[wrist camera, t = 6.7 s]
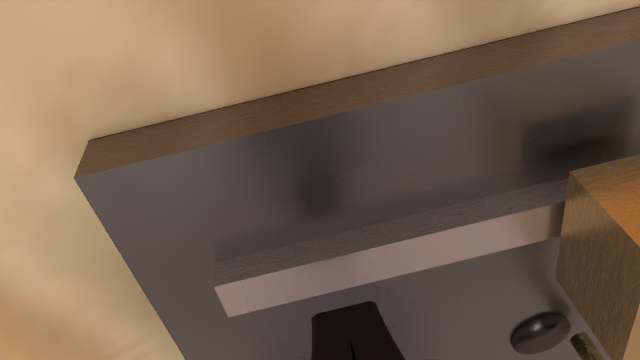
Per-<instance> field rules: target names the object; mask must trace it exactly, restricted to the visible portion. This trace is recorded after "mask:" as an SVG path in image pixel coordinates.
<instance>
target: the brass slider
mask: <svg viewBox="0 0 640 360" xmlns="http://www.w3.org/2000/svg"><path fill="white" fill-rule="evenodd" d="M555 278H556V280H557V281H558V283H559V284H560V286H561V287H562V288H563V290H564V291H565V293H566V294H567V296H568V297H569V299H570V300H571V302H572V303H573V304H574V306H575V307H576V309H577V310H578V312H579V313H580V315H581V316H582V318H583V319H584V320H585V322H586V323H587V325H588V326H589V328H590V329H591V331H592V332H593V333H594V335H595V336H596V338H597V339H598V341H599V342H600V344H601V345H602V347H603V348H604V349H605V351H606V352H607V354H608V355H609V357H610V358H611V360H640V154H639V155H635V156H631V157H626V158H622V159H618V160H614V161H610V162H606V163H602V164H598V165H594V166H590V167H585V168H581V169H577V170H573V171H570V172H569V180H568V187H567V194H566V201H565V209H564V216H563V223H562V231H561V238H560V245H559V252H558V260H557V267H556V274H555ZM570 343H571V344H572V346H573V348H574V349H575V351H576V352H577V354H578V355H579V357H580V359H581V360H605V359H604V358H603V356H602V355H601V353H600V352H599V350H598V349H597V347H596V346H595V344H594V343H593V341H592V340H591V338H590V337H589V335H588V334H587V333H585V332H581V333H577V334H575V335H574V336H572V337H571V339H570Z"/></svg>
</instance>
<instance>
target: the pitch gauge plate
mask: <svg viewBox="0 0 640 360" xmlns="http://www.w3.org/2000/svg"><path fill="white" fill-rule="evenodd" d="M639 154H640V7H637V8H633V9H629V10H625V11H621V12H617V13H613V14H608V15H604V16H600V17H596V18H592V19H588V20H584V21H580V22H576V23H571V24H567V25H563V26H559V27H555V28H551V29H547V30H543V31H539V32H534V33H530V34H526V35H522V36H518V37H514V38H510V39H506V40H502V41H497V42H493V43H489V44H485V45H481V46H477V47H473V48H469V49H465V50H460V51H456V52H452V53H448V54H444V55H440V56H436V57H432V58H428V59H423V60H419V61H415V62H411V63H407V64H403V65H399V66H395V67H391V68H386V69H382V70H378V71H374V72H370V73H366V74H362V75H358V76H354V77H349V78H345V79H341V80H337V81H333V82H329V83H325V84H321V85H317V86H312V87H308V88H304V89H300V90H296V91H292V92H288V93H284V94H280V95H275V96H271V97H267V98H263V99H259V100H255V101H251V102H247V103H243V104H238V105H234V106H230V107H226V108H222V109H218V110H214V111H210V112H206V113H201V114H197V115H193V116H189V117H185V118H181V119H177V120H173V121H169V122H164V123H160V124H156V125H152V126H148V127H144V128H140V129H136V130H132V131H127V132H123V133H119V134H115V135H111V136H107V137H103V138H99V139H95V140H90V141H88V144H87V146H86V149H85V151H84V154H83V156H82V159H81V161H80V164H79V166H78V169H77V171H76V174H75V176H74V179H75V181H76V182H77V184H78V186H79V187H80V189H81V191H82V192H83V194H84V195H85V197H86V199H87V200H88V202H89V204H90V205H91V207H92V208H93V210H94V212H95V213H96V215H97V217H98V218H99V220H100V221H101V223H102V225H103V226H104V228H105V230H106V231H107V233H108V234H109V236H110V238H111V239H112V241H113V243H114V244H115V246H116V247H117V249H118V251H119V252H120V254H121V256H122V257H123V259H124V260H125V262H126V264H127V265H128V267H129V268H130V270H131V272H132V273H133V275H134V277H135V278H136V280H137V281H138V283H139V285H140V286H141V288H142V290H143V291H144V293H145V294H146V296H147V298H148V299H149V301H150V303H151V304H152V306H153V307H154V309H155V311H156V312H157V314H158V316H159V317H160V319H161V320H162V322H163V324H164V325H165V327H166V329H167V330H168V332H169V333H170V335H171V337H172V338H173V340H174V342H175V343H176V345H177V346H178V348H179V350H180V351H181V353H182V354H183V356H184V358H185V359H186V360H311V354H312V321H311V318H312V317H313V316H314V315H315V314H318V313H322V312H326V311H330V310H334V309H338V308H342V307H346V306H351V305H355V304H359V303H363V302H367V301H372V302H375V303H376V304H377V307H378V310H379V312H380V314H381V316H382V319H383V321H384V323H385V325H386V327H387V329H388V331H389V332H390V334H391V336H392V338H393V340H394V341H395V343H396V345H397V347H398V348H399V350H400V352H401V353H402V355H403V357H404V358H405V360H581V359H580V357H579V355H578V354H577V352H576V351H575V349H574V348H573V346H572V344H571V343H570V339H571V337H572V336H574V335H575V334H577V333H581V332H585V333H587V334H588V335H589V337H590V338H591V340H592V341H593V343H594V344H595V346H596V347H597V349H598V350H599V352H600V353H601V355H602V356H603V358H604V359H605V360H611V358H610V357H609V355H608V354H607V352H606V351H605V349H604V348H603V347H602V345H601V344H600V342H599V341H598V339H597V338H596V336H595V335H594V333H593V332H592V331H591V329H590V328H589V326H588V325H587V323H586V322H585V320H584V319H583V318H582V316H581V315H580V313H579V312H578V310H577V309H576V307H575V306H574V304H573V303H572V302H571V300H570V299H569V297H568V296H567V294H566V293H565V291H564V290H563V288H562V287H561V286H560V284H559V283H558V281H557V280H556V278H555V274H556V267H557V260H558V252H559V245H560V238H561V231H562V223H563V216H564V209H565V201H566V194H567V187H568V180H569V172H570V171H573V170H577V169H581V168H585V167H590V166H594V165H598V164H602V163H606V162H610V161H614V160H618V159H622V158H626V157H631V156H635V155H639Z"/></svg>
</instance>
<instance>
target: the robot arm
mask: <svg viewBox="0 0 640 360" xmlns="http://www.w3.org/2000/svg"><path fill="white" fill-rule="evenodd" d="M311 321H312V354H311V360H405V358H404V357H403V355H402V353H401V352H400V350H399V348H398V347H397V345H396V343H395V341H394V340H393V338H392V336H391V334H390V332H389V331H388V329H387V327H386V325H385V323H384V321H383V319H382V316H381V314H380V312H379V310H378V307H377V304H376V303H375V302H372V301H367V302H363V303H359V304H355V305H351V306H346V307H342V308H338V309H334V310H330V311H326V312H322V313H318V314H315V315H314V316H313V317H312V318H311Z"/></svg>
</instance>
